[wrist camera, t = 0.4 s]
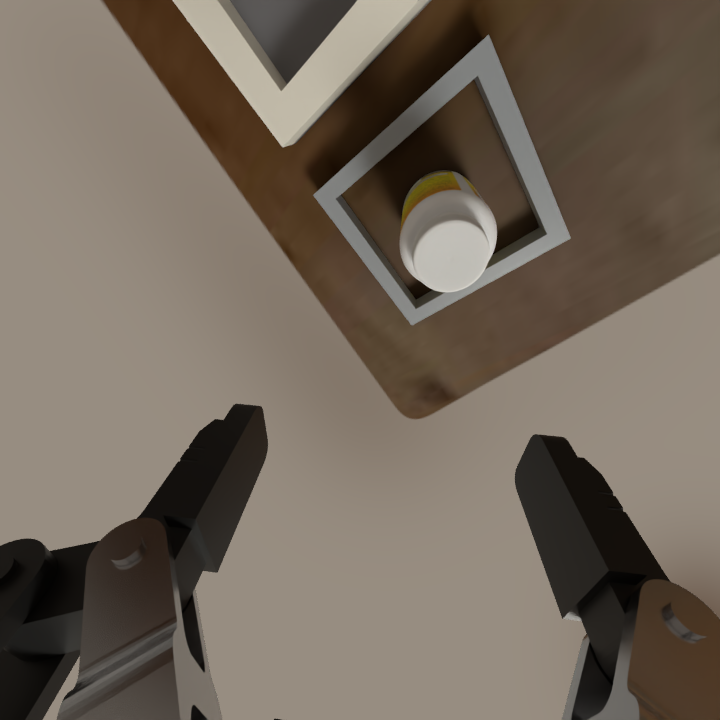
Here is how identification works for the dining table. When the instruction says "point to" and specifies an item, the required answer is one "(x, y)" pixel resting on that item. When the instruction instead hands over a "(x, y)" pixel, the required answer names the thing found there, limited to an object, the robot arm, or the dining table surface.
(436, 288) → the supplement bottle
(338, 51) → the holder
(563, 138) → the dining table surface
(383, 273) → the tray
